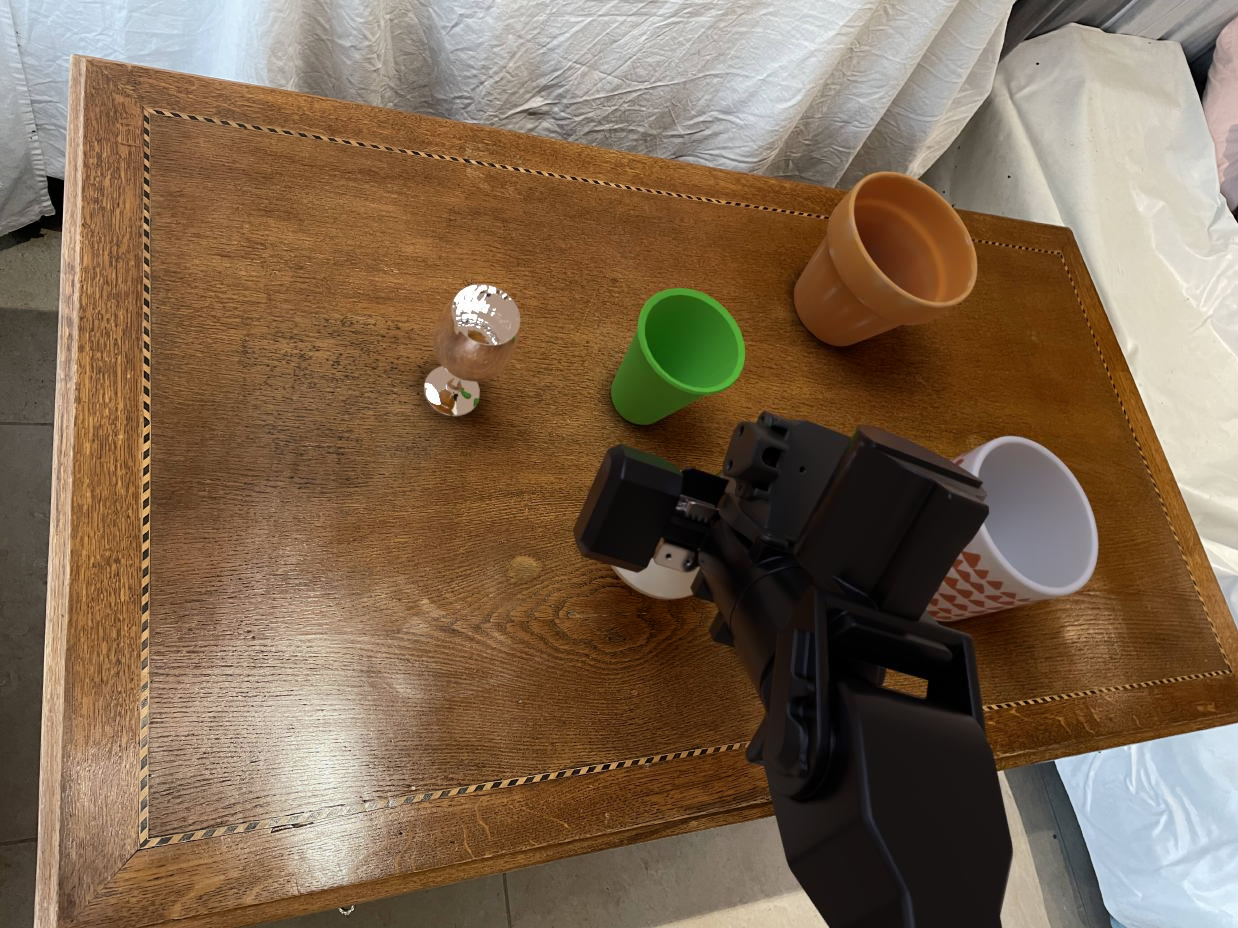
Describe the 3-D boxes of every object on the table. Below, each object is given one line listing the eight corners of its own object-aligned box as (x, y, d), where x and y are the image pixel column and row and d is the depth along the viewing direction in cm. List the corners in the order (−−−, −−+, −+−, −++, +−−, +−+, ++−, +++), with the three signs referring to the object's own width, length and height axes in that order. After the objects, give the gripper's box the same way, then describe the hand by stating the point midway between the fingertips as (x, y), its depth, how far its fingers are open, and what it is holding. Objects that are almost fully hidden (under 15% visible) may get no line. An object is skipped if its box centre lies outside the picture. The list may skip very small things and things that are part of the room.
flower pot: (905, 358, 83) (1002, 294, 72) (806, 383, 77) (896, 316, 66) (849, 245, 86) (934, 165, 75) (749, 259, 80) (825, 175, 69)
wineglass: (477, 354, 64) (515, 274, 54) (496, 418, 63) (538, 348, 53) (407, 362, 62) (433, 279, 52) (424, 429, 60) (454, 357, 50)
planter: (979, 643, 74) (1101, 620, 63) (859, 590, 71) (966, 556, 60) (987, 515, 80) (1100, 473, 69) (877, 461, 77) (977, 409, 66)
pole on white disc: (667, 629, 55) (748, 598, 45) (569, 523, 55) (631, 470, 45) (746, 538, 60) (834, 493, 50) (657, 441, 60) (728, 378, 50)
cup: (595, 340, 69) (646, 271, 60) (687, 370, 72) (749, 309, 62) (581, 430, 66) (632, 372, 56) (678, 459, 68) (742, 408, 59)
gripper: (1026, 531, 38) (881, 423, 52) (683, 405, 33) (626, 323, 47) (912, 710, 41) (805, 562, 56) (584, 621, 36) (559, 484, 51)
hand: (707, 486), depth 52 cm, fingers closed on pole on white disc, 2 cm apart
